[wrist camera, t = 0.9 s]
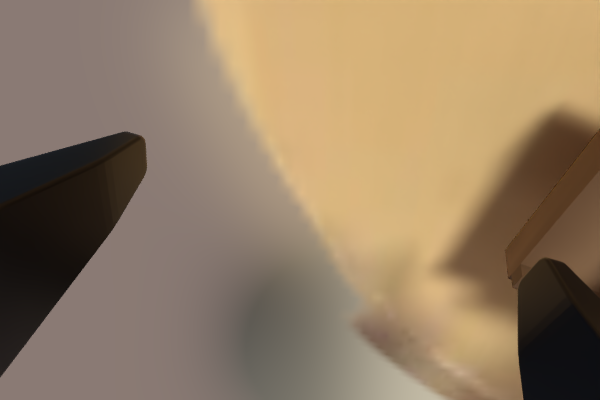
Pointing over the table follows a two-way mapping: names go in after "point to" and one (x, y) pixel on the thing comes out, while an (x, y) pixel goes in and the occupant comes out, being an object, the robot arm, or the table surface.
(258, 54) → the table surface
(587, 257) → the beam
